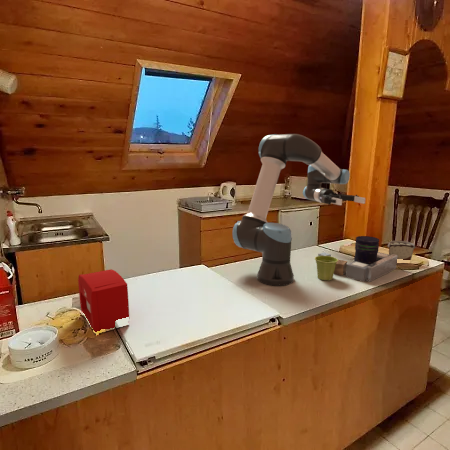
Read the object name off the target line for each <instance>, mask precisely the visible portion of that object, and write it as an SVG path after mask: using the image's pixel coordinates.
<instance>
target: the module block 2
mask: <svg viewBox="0 0 450 450" xmlns="http://www.w3.org/2000/svg"><path fill="white" fill-rule="evenodd" d="M388 256H390V255H389V253H385V252H379V251H378V253H377V261H379V260H381V259H383V258H386V257H388Z"/></svg>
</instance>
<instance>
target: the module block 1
mask: <svg viewBox="0 0 450 450" xmlns="http://www.w3.org/2000/svg"><path fill="white" fill-rule="evenodd" d="M367 266H368V264H365V263H361V262H357V261H354V260H353V261H351V262H349V263H347V266H346V272H345V277H346V278H349V279H352V280H355V281H356V280H357V281H360V282H367V281H366V271H367Z"/></svg>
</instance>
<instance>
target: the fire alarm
mask: <svg viewBox="0 0 450 450" xmlns="http://www.w3.org/2000/svg"><path fill="white" fill-rule="evenodd" d="M77 283H78V296H79V305H80V311H81V312H82V311H83V313H84V314H85V316H86V318H87V319H88V321H89V323H90V325H91V327H92V328H93V330H94V331H95V332H97V331H100V330H101V329H110V328H114V327H115V321H116V320H118V319H122V318H126V317H129V318H130V307H129V306H130V305H129V304H130V303H129V290H128V283H127V282H126V280H125V279H124V278H123V277H122V275H120V274H119V273H118V272H117V271H116V270H114V269H111V268H110V269H105V270H100V271H96V272H95V271H94V272H90V273H89V272H88V273H84V274H83V273H81V274H79V275H78V279H77Z"/></svg>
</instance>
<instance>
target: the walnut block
mask: <svg viewBox="0 0 450 450" xmlns="http://www.w3.org/2000/svg"><path fill="white" fill-rule="evenodd" d="M347 264H348V261H347V260H342V259H338V261H337V263H336V265H335V269H334V274H333V275H340V276H343V275H344V274H346V266H347Z"/></svg>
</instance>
